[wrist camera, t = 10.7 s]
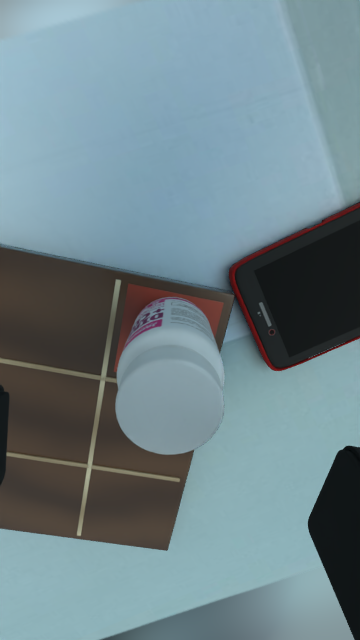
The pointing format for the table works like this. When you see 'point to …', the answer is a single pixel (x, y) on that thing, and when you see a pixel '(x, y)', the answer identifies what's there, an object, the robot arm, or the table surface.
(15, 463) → the grid board
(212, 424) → the pill bottle
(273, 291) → the cell phone
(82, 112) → the table surface
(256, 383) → the table surface
